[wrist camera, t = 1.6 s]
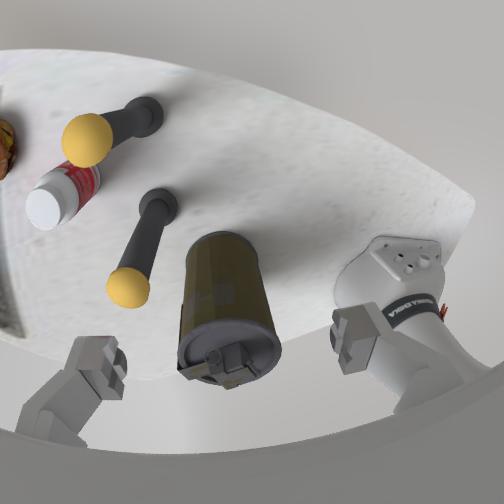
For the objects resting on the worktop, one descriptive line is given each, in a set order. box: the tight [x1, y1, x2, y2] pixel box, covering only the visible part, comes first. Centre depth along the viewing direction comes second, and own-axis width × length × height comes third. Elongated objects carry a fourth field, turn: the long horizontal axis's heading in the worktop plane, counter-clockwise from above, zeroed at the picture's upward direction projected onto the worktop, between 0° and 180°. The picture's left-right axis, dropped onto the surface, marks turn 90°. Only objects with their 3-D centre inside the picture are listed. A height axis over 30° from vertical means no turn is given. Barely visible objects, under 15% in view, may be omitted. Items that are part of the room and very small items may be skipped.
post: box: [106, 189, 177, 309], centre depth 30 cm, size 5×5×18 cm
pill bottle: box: [26, 160, 100, 230], centre depth 29 cm, size 6×6×11 cm
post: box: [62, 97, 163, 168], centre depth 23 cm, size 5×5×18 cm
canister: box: [177, 232, 282, 390], centre depth 34 cm, size 11×10×20 cm
